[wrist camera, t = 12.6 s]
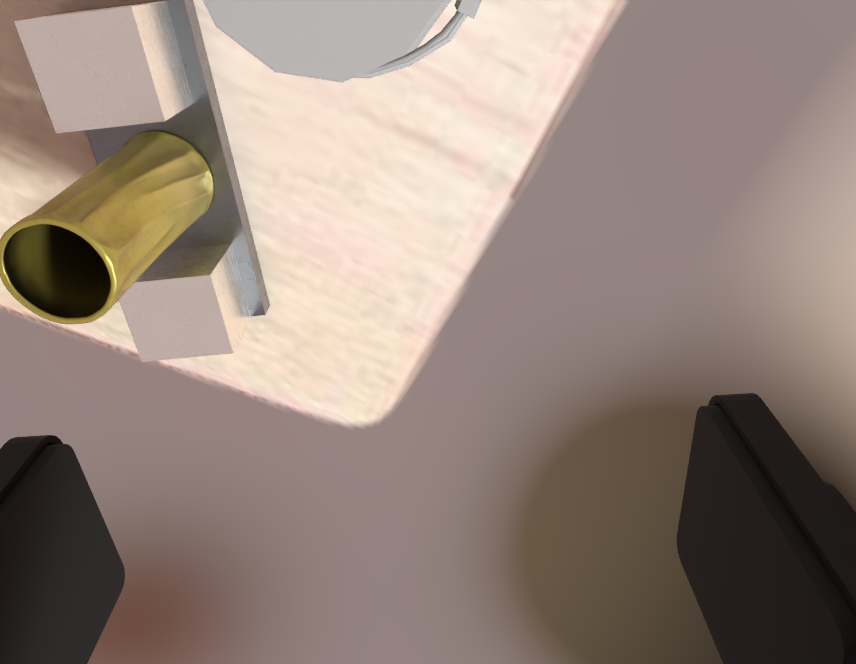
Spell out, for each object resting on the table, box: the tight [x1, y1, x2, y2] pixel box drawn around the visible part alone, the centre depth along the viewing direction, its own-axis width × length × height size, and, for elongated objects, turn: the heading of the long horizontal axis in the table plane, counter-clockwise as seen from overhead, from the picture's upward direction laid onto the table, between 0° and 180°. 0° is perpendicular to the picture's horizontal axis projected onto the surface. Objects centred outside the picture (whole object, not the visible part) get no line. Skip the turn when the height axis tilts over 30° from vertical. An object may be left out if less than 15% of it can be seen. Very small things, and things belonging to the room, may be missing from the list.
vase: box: [0, 132, 213, 324], centre depth 36 cm, size 6×6×14 cm
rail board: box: [14, 0, 270, 362], centre depth 40 cm, size 20×8×6 cm, turn 6°
